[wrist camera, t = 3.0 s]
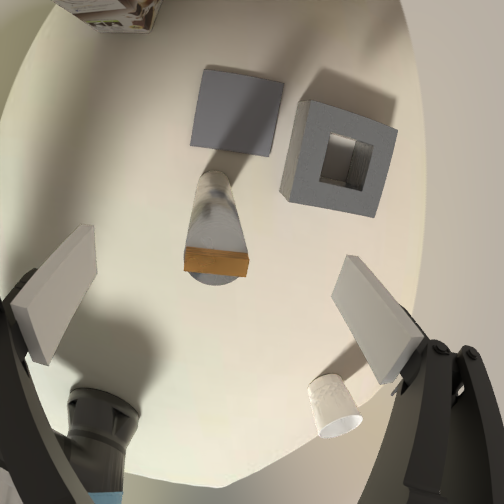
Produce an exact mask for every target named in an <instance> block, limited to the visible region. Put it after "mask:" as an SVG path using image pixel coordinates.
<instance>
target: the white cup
mask: <svg viewBox="0 0 504 504" xmlns="http://www.w3.org/2000/svg"><path fill="white" fill-rule="evenodd" d="M307 391H308V395H309V398H310V404H311V408H312V412H313V417H314V420H315V424H316V428H317V431H318V435H319V437H321V438H333V437H337V436H340V435H343V434H346V433H348V432H350V431H351V430H353V429H354V428H356V427H357V426H358V425H359V424H360V423H361V422H362V420H363V417H362V415H361V413H360V411H359V409H358V407H357V405H356V403H355V402H354V400H353V398H352V396H351V394H350V392H349V390H348V389H347V387H346V386H345V384H344V382H343V380H342V378H341V376H339V375H337V374H327V375H323V376H321V377H319V378H317V379H315V380H314V381H313V382H311V383H310V384H309V386H308V389H307Z"/></svg>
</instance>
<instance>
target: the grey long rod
mask: <svg viewBox="0 0 504 504" xmlns="http://www.w3.org/2000/svg"><path fill="white" fill-rule="evenodd" d="M248 265H249V257H248V250H247V247H246V243H245V239H244V235H243V232H242V228H241V224H240V220H239V216H238V213H237V209H236V205H235V201H234V197H233V193H232V190H231V186H230V182H229V179H228V178H227V176H226V175H225V174H224V173H222V172H220V171H216V170H212V171H208V172H206V173H204V174H203V175H202V176H201V177H200V179H199V181H198V185H197V189H196V194H195V199H194V203H193V208H192V213H191V218H190V223H189V229H188V234H187V239H186V245H185V250H184V271H188V272H189V273H190V275H191V276H192V277H193V278H195V279H196V280H197V281H199V282H201V283H204V284H207V285H224V284H227V283H230V282H232V281H234V280H235V279H237V278H238V277H246V275H247V270H248Z"/></svg>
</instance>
